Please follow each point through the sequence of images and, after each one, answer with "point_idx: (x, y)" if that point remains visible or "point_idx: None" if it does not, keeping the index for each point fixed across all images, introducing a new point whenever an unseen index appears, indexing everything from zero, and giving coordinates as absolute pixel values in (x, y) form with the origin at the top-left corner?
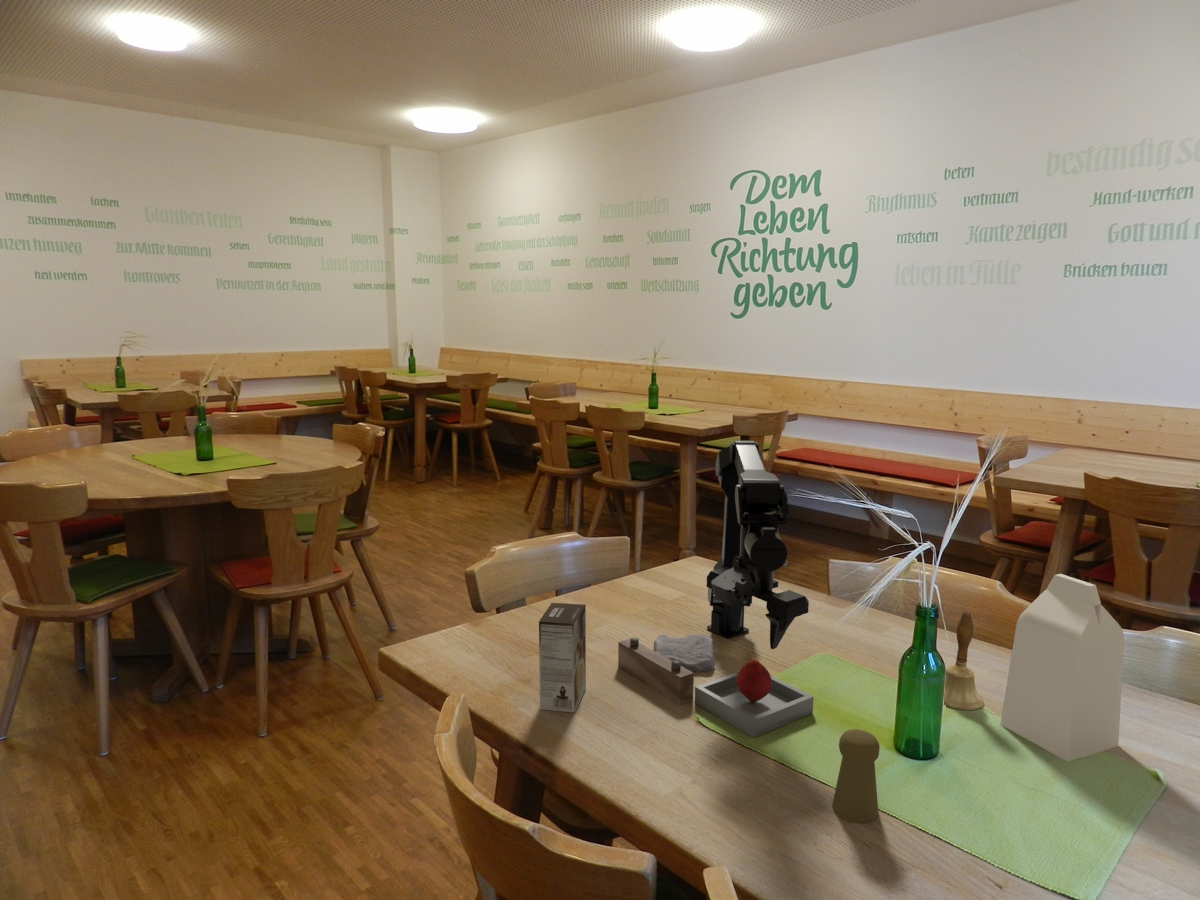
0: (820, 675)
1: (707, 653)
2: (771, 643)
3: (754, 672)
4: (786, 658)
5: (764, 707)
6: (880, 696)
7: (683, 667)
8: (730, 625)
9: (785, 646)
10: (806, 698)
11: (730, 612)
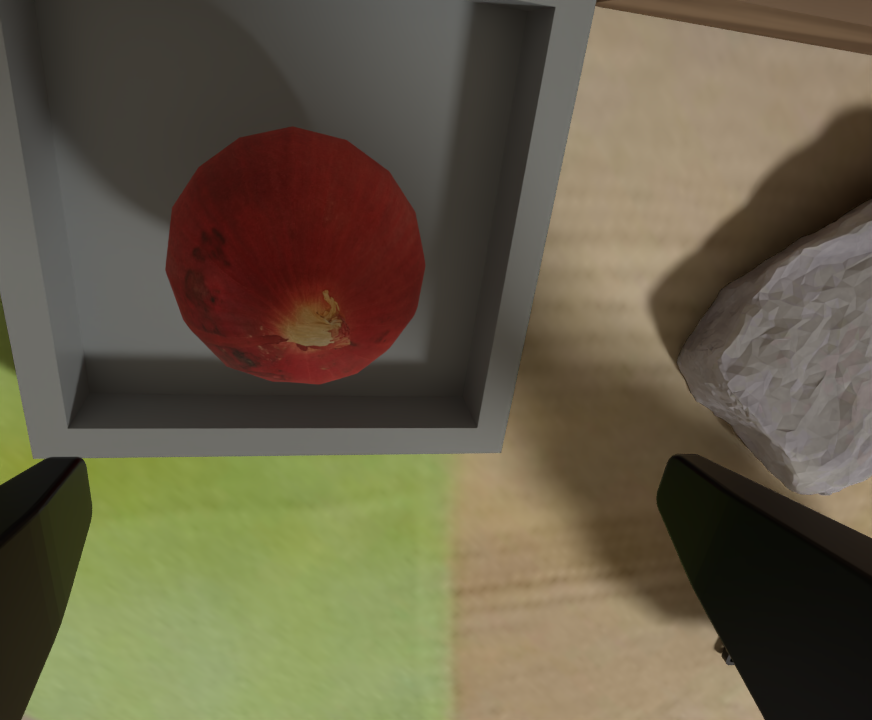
0: (323, 642)
1: (757, 381)
2: (11, 492)
3: (231, 229)
4: (504, 632)
5: None
6: (44, 700)
7: (784, 5)
8: (732, 472)
9: (561, 680)
10: (33, 413)
11: (866, 585)
